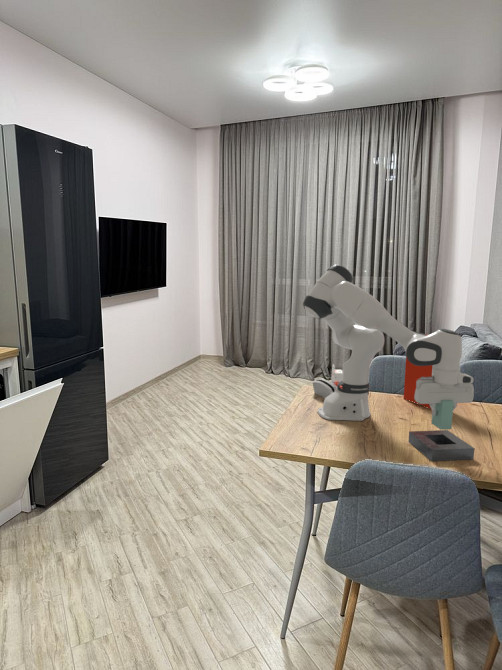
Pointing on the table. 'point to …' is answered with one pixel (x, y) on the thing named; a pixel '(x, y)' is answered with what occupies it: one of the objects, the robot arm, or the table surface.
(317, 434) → the table surface
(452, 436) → the collar block
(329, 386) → the grey napkin holder
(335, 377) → the ink cartridge box
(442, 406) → the sage green box
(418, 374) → the file binder
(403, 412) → the table surface
